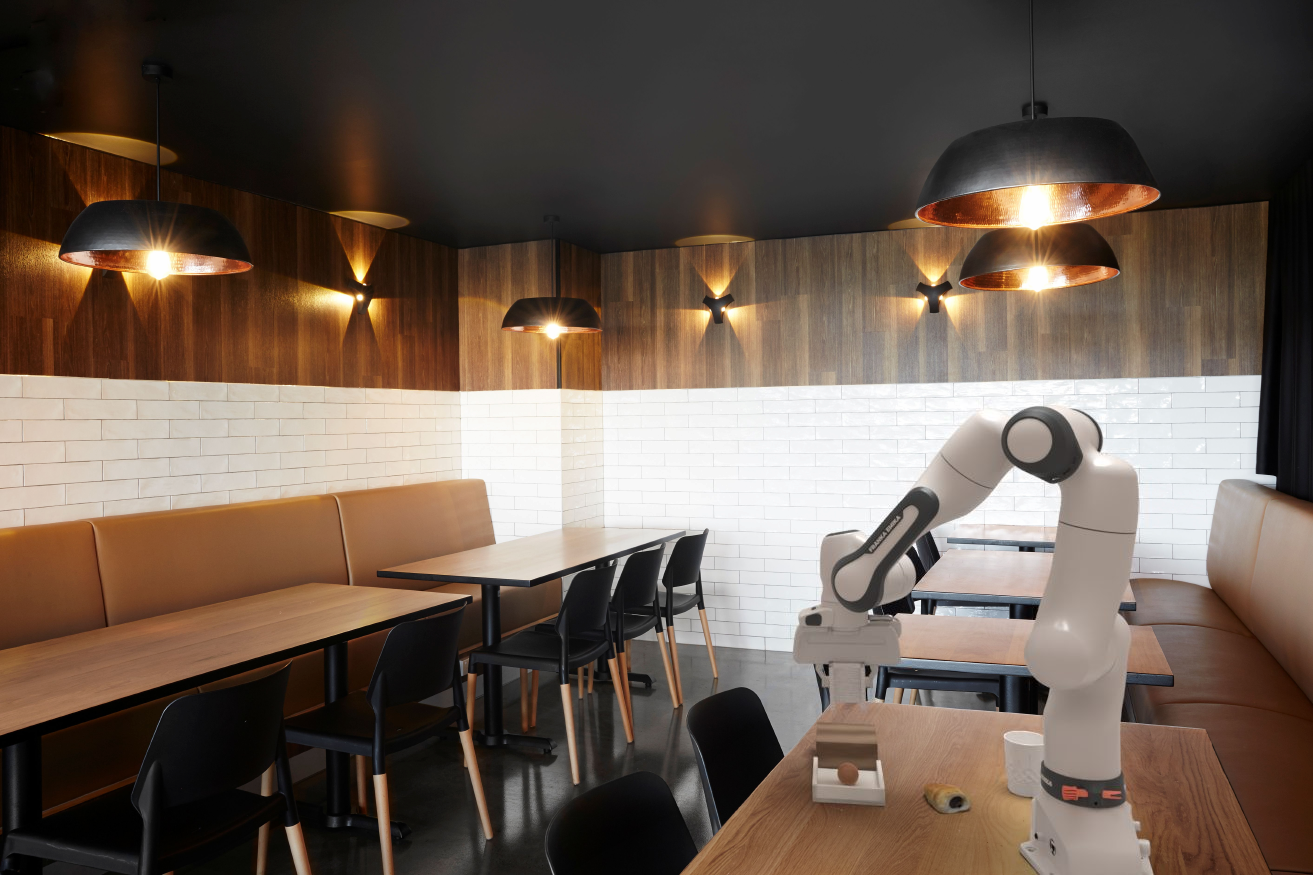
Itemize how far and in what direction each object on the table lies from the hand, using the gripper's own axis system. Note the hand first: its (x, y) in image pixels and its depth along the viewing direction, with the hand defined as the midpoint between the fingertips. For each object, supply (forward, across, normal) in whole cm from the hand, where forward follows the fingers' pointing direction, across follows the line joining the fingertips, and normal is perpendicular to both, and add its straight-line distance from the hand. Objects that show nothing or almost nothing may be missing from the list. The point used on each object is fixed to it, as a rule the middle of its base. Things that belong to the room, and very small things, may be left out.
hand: (847, 686), depth 170 cm
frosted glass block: (+4, 0, 0) cm, 4 cm away
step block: (+19, 0, -13) cm, 23 cm away
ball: (+16, 0, -1) cm, 16 cm away
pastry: (+20, -17, +5) cm, 27 cm away
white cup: (+20, -32, -3) cm, 38 cm away
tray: (+19, 0, 0) cm, 19 cm away
